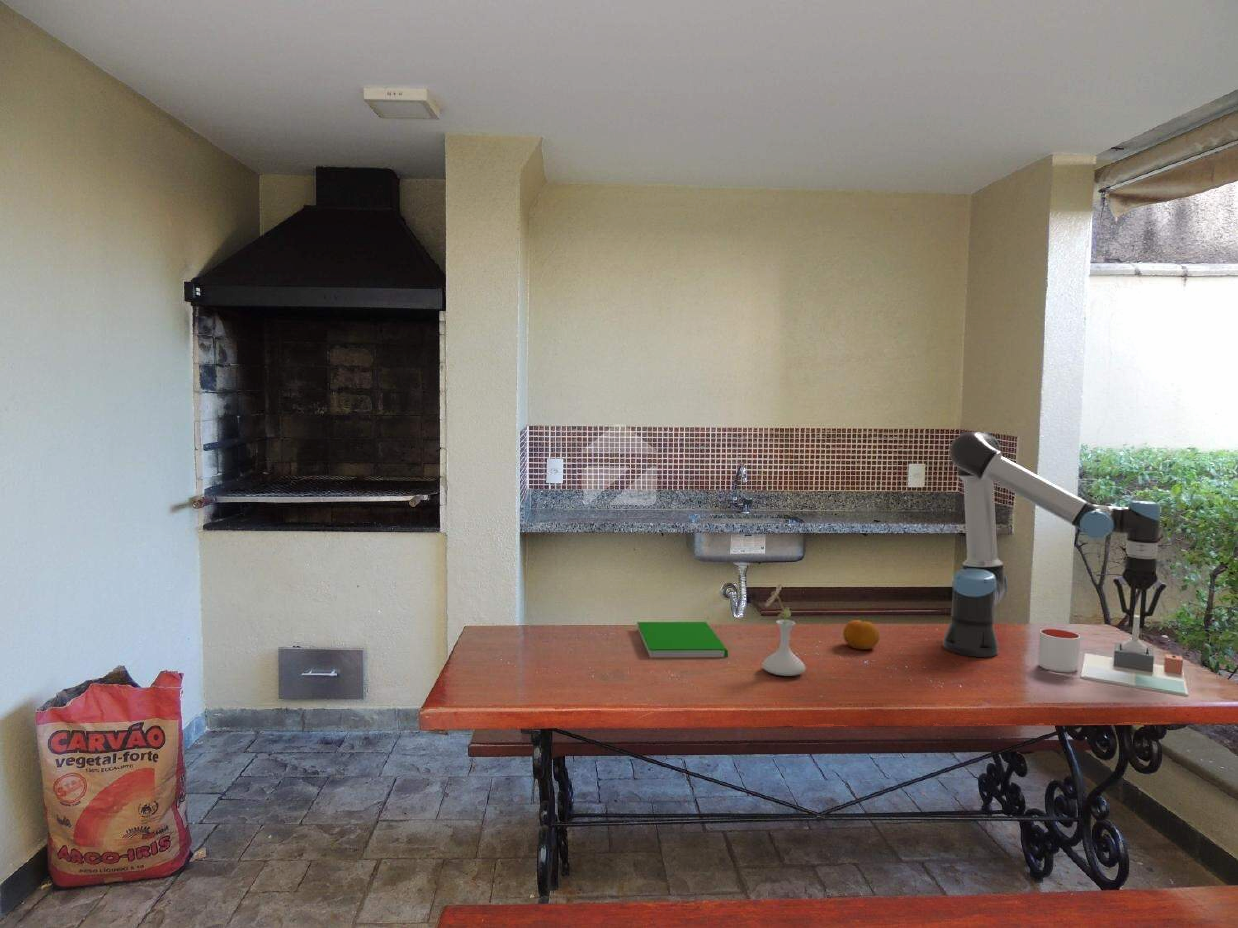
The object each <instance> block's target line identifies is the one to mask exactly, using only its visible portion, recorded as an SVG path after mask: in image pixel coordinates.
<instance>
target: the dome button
mask: <svg viewBox="0 0 1238 928" xmlns="http://www.w3.org/2000/svg"><path fill="white" fill-rule="evenodd" d="M1121 644H1122V651H1128V652H1135V653H1141V654H1146V651H1147V645H1146V644H1144V643H1143V642H1142V641H1141V640H1139V639H1138V640H1133V639H1132V638H1130V639H1128V640H1126V641H1122V642H1121Z"/></svg>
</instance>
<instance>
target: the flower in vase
mask: <svg viewBox="0 0 1238 928" xmlns="http://www.w3.org/2000/svg"><path fill="white" fill-rule="evenodd" d="M782 587H783V581H782V582H779V583H778V584H777V586H776V589H775V591H774V590H773V591H772V592H771V595H770V597H769V598H768V599H767V600H766V603H765V604H764V606H765V607H767V608H768V607H770V605H771V604H772V603H773V602H774V601H775V599H776V600H778V602H779V604H780V607H781V612H780V613H779V614H778V615H777V617H776V619H775V621H776V622H775V623H776V624H777V627H779V633H780V634H779V635H780V644H779V648H778V649H777V651H775V652H774V653H772V654H770V656H767V657H766V658H765V659H764V660H763V662H762V664H761V665H762V668H763V669H764V670H765V671H766V672H768V673H771V674H773V675H776V676H783V677H794V676H798V675H801V674H803V673H804V672H805V671H806V665H805V664H804V662H803V661H802V660H801V659H800V658H799V657H797V656H796V655H795V654H794V652H793V651H792V650H791V648H790V635H791V631H792V630H793V629H792V628H793V627H794V626H795V625H796V622H795V621H793V620H790V619H788V618H791V615H792V613H791V610H790V608H789V606H787V607H785V608H784V606H783V604H782V601H781V599H780V597H779V594H780V592H781V590H782ZM782 617H783V619H781V618H782Z"/></svg>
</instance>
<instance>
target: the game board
mask: <svg viewBox="0 0 1238 928" xmlns="http://www.w3.org/2000/svg"><path fill="white" fill-rule="evenodd" d="M1163 663H1164V664H1163V665H1162V664H1155V663H1153V672H1147V671H1141V670H1134V669H1128V668H1122V667H1116V666H1113V664H1114V657H1110V656H1104V655H1097V654H1092V653H1087V652H1086V653H1084V658H1083V665H1082V670H1081V676H1080V678H1081V679H1085V680H1090V681H1095V682H1101V683H1109V684H1113V685H1118V686H1125V687H1131V688H1137V689H1143V690H1148V691H1154V692H1160V693H1164V694H1165V693H1167V694H1173V695H1179V696H1183V697H1188V696H1189V692H1188V688H1187V683H1186V678H1185V674H1184V669H1183V665H1184V664H1183V663H1184V659H1183V656H1181V655H1174V654H1173V655H1172V654H1167V653H1165V654H1164V662H1163Z"/></svg>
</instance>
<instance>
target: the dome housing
mask: <svg viewBox="0 0 1238 928" xmlns="http://www.w3.org/2000/svg"><path fill="white" fill-rule="evenodd" d="M1113 651H1114V653H1113V658H1114V664H1113V666H1116V667H1122V668H1128V669H1134V670H1141V671H1147V672H1153V664H1155V662H1154V660H1155V654H1154V653H1155V652H1154V648H1153V647H1147V651H1146V654H1141V653H1135V652H1128V651H1122V642H1121V643H1119V642H1114V650H1113Z"/></svg>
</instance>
